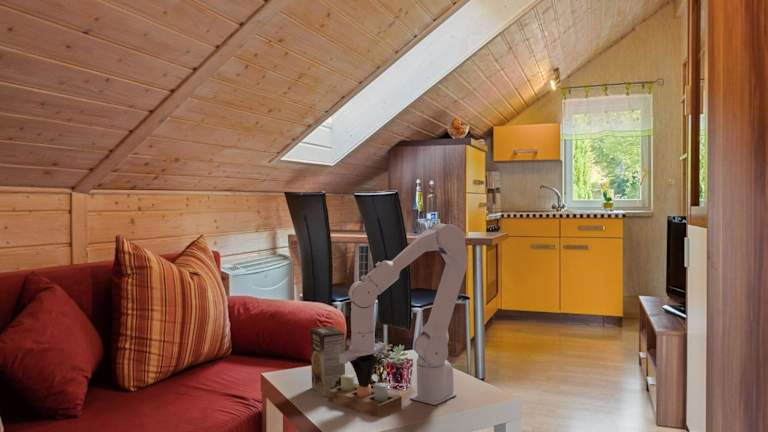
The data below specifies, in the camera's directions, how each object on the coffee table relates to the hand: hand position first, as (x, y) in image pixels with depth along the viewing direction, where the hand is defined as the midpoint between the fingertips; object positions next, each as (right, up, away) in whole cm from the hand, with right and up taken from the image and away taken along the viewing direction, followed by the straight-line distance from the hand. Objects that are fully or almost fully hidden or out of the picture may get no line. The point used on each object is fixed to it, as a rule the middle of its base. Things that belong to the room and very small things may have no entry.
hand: (363, 386), depth 144 cm
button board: (0, -5, 0) cm, 5 cm away
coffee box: (-10, -5, +12) cm, 16 cm away
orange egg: (0, -4, 0) cm, 4 cm away
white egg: (+4, -3, -4) cm, 6 cm away
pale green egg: (-4, -3, +4) cm, 6 cm away
